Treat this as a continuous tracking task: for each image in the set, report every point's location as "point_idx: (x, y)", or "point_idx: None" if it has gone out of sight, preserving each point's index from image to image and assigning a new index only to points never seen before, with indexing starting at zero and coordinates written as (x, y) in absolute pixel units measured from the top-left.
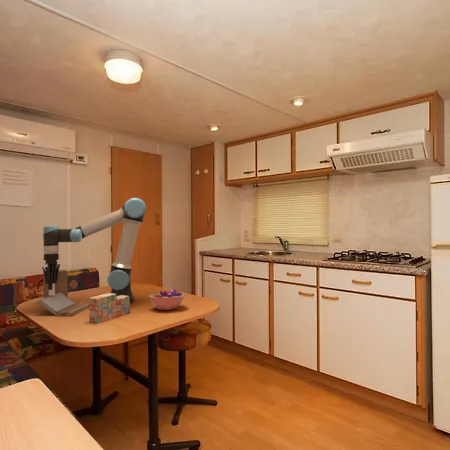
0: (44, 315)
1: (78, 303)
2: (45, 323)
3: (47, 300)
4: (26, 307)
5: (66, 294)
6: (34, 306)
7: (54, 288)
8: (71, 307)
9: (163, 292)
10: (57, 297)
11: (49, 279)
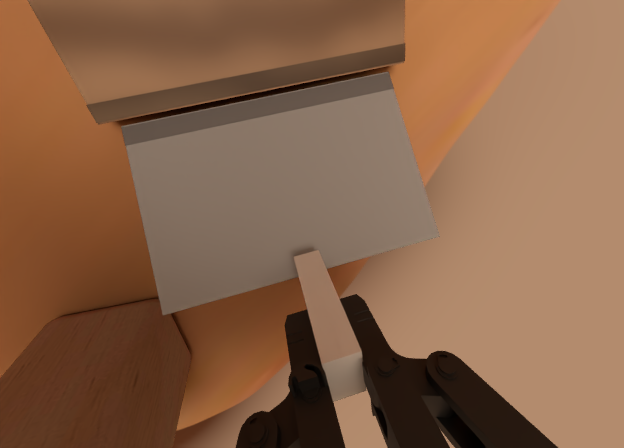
0: None
1: (106, 107)
2: (522, 25)
3: (383, 219)
4: (262, 367)
5: (30, 359)
6: (236, 358)
7: (313, 302)
8: (247, 64)
9: None
10: (256, 245)
11: (508, 419)
